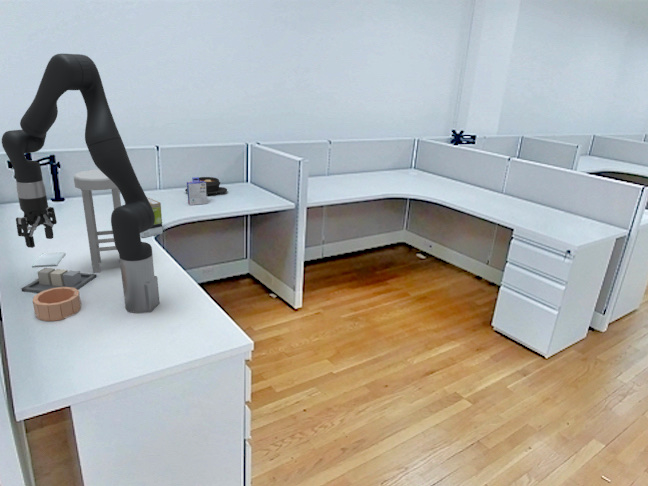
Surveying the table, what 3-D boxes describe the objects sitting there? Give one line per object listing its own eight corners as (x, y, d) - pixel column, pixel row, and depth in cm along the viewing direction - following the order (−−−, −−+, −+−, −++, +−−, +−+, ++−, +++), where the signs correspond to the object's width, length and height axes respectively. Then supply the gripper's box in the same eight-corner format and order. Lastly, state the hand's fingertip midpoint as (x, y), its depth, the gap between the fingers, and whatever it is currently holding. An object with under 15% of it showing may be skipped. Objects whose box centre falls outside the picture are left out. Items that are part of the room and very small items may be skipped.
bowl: (89, 304, 141) (87, 289, 139) (64, 323, 130) (61, 307, 128) (54, 300, 142) (51, 285, 140) (26, 318, 131) (23, 302, 129)
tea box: (163, 233, 204) (161, 202, 198) (142, 238, 197) (139, 205, 191) (147, 225, 213) (145, 195, 208) (127, 229, 206) (123, 198, 201)
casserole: (184, 196, 264) (183, 182, 261) (186, 189, 281) (185, 176, 278) (227, 196, 269) (227, 183, 266) (227, 189, 286) (227, 176, 283)
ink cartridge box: (205, 201, 256) (203, 176, 251) (207, 204, 252) (206, 178, 247) (187, 202, 252) (185, 177, 247) (189, 205, 247) (188, 179, 242)
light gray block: (81, 283, 153) (80, 271, 151) (75, 288, 149) (73, 275, 148) (72, 282, 153) (70, 270, 151) (65, 286, 150) (62, 274, 148)
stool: (88, 260, 171) (75, 169, 159) (132, 256, 177) (123, 168, 165) (86, 277, 158) (71, 179, 146) (133, 271, 164) (123, 177, 152)
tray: (97, 277, 158) (96, 274, 157) (68, 297, 144) (67, 293, 143) (54, 273, 160) (53, 269, 159) (22, 292, 146) (21, 288, 145)
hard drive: (56, 264, 164) (65, 251, 176) (31, 265, 162) (41, 252, 173) (57, 268, 165) (66, 255, 176) (32, 270, 163) (42, 256, 174)
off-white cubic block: (69, 282, 153) (67, 270, 152) (62, 286, 150) (60, 274, 148) (59, 281, 153) (57, 268, 152) (52, 285, 150) (50, 273, 149)
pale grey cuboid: (56, 280, 154) (54, 268, 152) (49, 285, 150) (47, 272, 149) (47, 279, 154) (44, 267, 152) (39, 284, 151) (37, 271, 149)
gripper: (26, 201, 134) (35, 251, 140) (58, 190, 148) (65, 236, 153) (3, 199, 135) (13, 249, 141) (37, 188, 148) (45, 234, 154)
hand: (40, 242), depth 147 cm, fingers open, 8 cm apart
